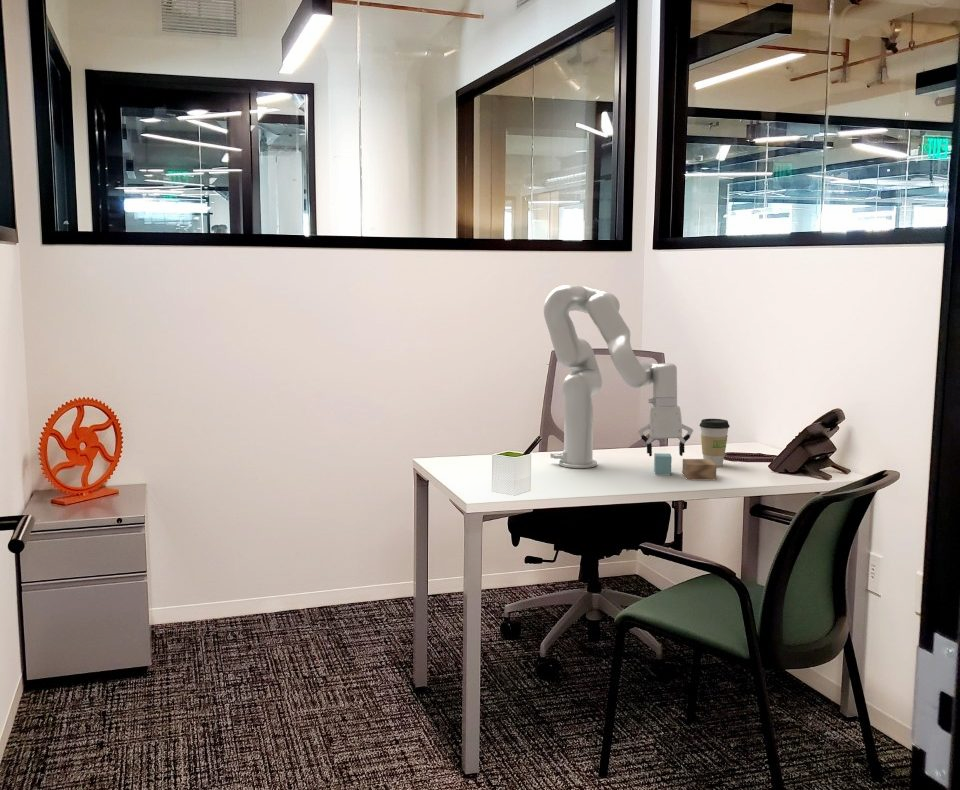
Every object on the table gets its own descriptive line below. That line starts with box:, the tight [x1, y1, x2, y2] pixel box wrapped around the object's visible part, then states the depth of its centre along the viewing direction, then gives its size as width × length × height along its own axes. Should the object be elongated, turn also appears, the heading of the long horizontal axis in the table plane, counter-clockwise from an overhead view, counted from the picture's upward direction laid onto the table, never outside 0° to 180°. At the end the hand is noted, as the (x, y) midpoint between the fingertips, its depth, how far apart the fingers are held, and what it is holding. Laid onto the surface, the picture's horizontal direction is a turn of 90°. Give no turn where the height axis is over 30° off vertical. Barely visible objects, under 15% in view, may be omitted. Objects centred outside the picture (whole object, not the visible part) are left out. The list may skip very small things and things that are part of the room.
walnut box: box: [681, 458, 718, 480], centre depth 292 cm, size 9×9×5 cm
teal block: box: [653, 452, 673, 475], centre depth 297 cm, size 5×5×6 cm
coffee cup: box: [698, 418, 730, 468], centre depth 309 cm, size 10×10×15 cm
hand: (665, 455), depth 296 cm, fingers open, 9 cm apart
